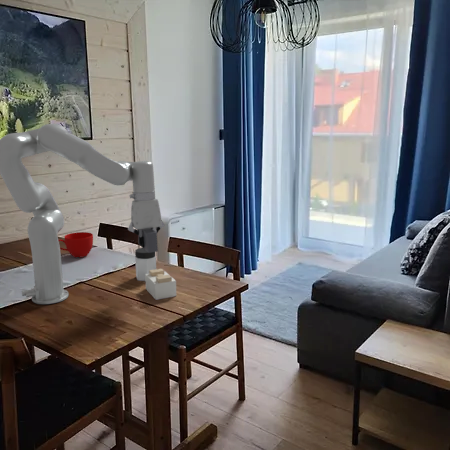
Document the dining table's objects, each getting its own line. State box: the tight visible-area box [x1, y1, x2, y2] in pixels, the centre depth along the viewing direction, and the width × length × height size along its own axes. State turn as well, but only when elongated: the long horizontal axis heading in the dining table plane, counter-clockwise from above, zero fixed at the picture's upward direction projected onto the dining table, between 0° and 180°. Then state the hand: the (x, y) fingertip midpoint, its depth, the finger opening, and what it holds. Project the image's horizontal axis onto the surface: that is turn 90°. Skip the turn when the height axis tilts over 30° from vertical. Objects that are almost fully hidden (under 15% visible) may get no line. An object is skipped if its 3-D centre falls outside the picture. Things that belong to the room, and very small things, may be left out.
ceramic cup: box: [58, 231, 94, 258], centre depth 213 cm, size 13×17×10 cm
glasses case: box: [137, 228, 159, 253], centre depth 162 cm, size 3×13×7 cm, turn 26°
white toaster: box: [145, 268, 177, 301], centre depth 169 cm, size 8×12×8 cm, turn 27°
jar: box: [134, 247, 157, 282], centre depth 184 cm, size 9×8×12 cm
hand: (147, 245), depth 163 cm, fingers closed on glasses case, 3 cm apart
